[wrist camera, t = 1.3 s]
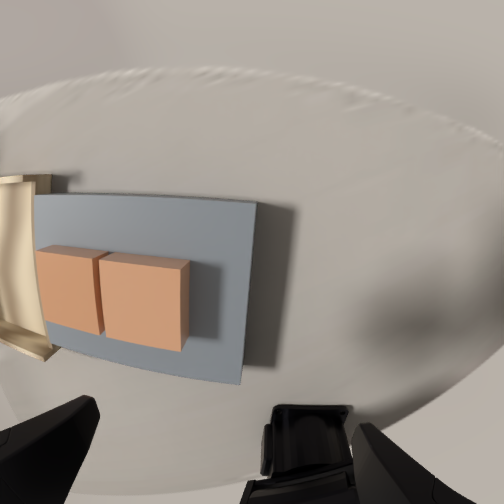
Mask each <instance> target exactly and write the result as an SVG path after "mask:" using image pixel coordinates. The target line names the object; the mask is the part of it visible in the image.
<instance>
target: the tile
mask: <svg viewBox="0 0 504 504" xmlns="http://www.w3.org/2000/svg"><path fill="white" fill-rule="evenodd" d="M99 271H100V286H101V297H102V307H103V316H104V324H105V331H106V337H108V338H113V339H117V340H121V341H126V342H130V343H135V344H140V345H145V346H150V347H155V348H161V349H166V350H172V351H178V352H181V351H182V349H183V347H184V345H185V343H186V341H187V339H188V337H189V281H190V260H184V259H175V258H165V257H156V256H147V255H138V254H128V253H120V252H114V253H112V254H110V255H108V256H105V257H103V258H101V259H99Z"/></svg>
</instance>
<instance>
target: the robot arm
mask: <svg viewBox="0 0 504 504" xmlns="http://www.w3.org/2000/svg"><path fill="white" fill-rule="evenodd" d="M278 410H279V411H278ZM342 411H344V412H342ZM347 415H348V409H347V407H345V406H327V407H320V406H284V405H277V406H274V407H273V409H272V414H271V420H270V424H266V425H265V426H264V432H263V437H262V445H261V469H260V474H261V475H262V476H267V479H263V480H250V481H248V482H247V484H246V487H245V490H244V492H243V495H242V498H241V501H240V504H476V503H474V502H473V501H471V500H469V499H467V498H466V497H464V496H462V495H461V494H459V493H457V492H456V491H454V490H452V489H451V488H450V487H448V486H447V485H446V484H444V483H443V482H442V481H440V480H439V479H438V478H435V476H434V475H433V474H431V473H430V472H429V471H428V470H426V469H425V468H424V467H423V466H421V465H420V464H419V463H418V462H417V461H415V460H414V459H413V458H411V457H410V456H409V455H408V454H407V453H406V452H404V451H403V450H402V449H401V448H400V447H399V446H397V445H396V444H395V443H394V442H393V441H391V440H390V439H389V438H388V437H387V436H386V435H384V434H383V433H382V432H381V431H380V430H379V429H377V428H376V427H375V426H374V425H373V424H372V423H370V422H366V423H359V424H358V425H357V427H356V430H355V432H354V435H353V437H352V442H351V445H352V453H353V454H352V455H353V458H352V456H351V452H350V448H349V444H348V440H347V436H346V433H345V429H344V422H345V420H346V417H347ZM99 420H100V412H99V410H98V407H97V404H96V401H95V399H94V398H93V397H90V396H87V395H82V396H80V397H78V398H76V399H74V400H71V401H69V402H67V403H65V404H63V405H61V406H58V407H56V408H54V409H52V410H50V411H47V412H45V413H43V414H41V415H38V416H36V417H34V418H31V419H29V420H27V421H24V422H22V423H20V424H17V425H15V426H13V427H12V428H8V429H5V430H3V431H0V504H64V502H65V500H66V498H67V496H68V493H69V491H70V489H71V487H72V485H73V482H74V480H75V478H76V476H77V474H78V472H79V469H80V467H81V465H82V463H83V461H84V459H85V457H86V455H87V453H88V450H89V448H90V445H91V442H92V439H93V436H94V434H95V431H96V428H97V425H98V422H99Z"/></svg>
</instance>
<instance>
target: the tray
mask: <svg viewBox="0 0 504 504" xmlns="http://www.w3.org/2000/svg"><path fill="white" fill-rule="evenodd" d="M51 179H52V174H44V175H18V176H8V177H0V342H1V343H3V344H5V345H7V346H9V347H11V348H14V349H16V350H18V351H20V352H22V353H25V354H27V355H29V356H31V357H34V358H36V359H38V360H41V361H43V362H45V361H47V360H48V359H49V358H50V357H51V356H52V355H53V354H54V353H56V352H57V351H58V350H59V349H60V348H61V346H58V345H55V344H52V343H50V339H49V335H48V330H47V326H46V321H45V318H44V313H43V308H42V302H41V296H40V289H39V282H38V274H37V265H36V254H35V251H36V246H35V227H34V195H40V194H49V193H51Z"/></svg>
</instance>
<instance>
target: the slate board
mask: <svg viewBox="0 0 504 504" xmlns="http://www.w3.org/2000/svg"><path fill="white" fill-rule="evenodd" d="M256 212H257V202H255V201H244V200H231V199H218V198H203V197H187V196H169V195H146V194H115V193H49V194H40V195H34V227H35V246H36V250H39V249H42V248H45V247H47V246H50V245H60V246H68V247H76V248H85V249H93V250H102V251H108V255H110V254H112V253H114V252H120V253H128V254H138V255H147V256H156V257H165V258H175V259H184V260H190V281H189V337H188V339H187V341H186V343H185V345H184V347H183V349H182V351H181V352H178V351H172V350H166V349H161V348H155V347H150V346H145V345H140V344H135V343H130V342H126V341H121V340H117V339H113V338H108V337H106V331H104V332H103V333H102V334H101V335H96V334H92V333H88V332H84V331H81V330H77V329H73V328H70V327H66V326H63V325H59V324H56V323H53V322H49V321H46V320H45V321H46V326H47V330H48V335H49V339H50V343H52V344H55V345H58V346H61V347H64V348H67V349H70V350H73V351H76V352H79V353H83V354H86V355H89V356H93V357H96V358H100V359H103V360H107V361H111V362H115V363H119V364H123V365H127V366H131V367H135V368H140V369H144V370H149V371H153V372H158V373H163V374H169V375H174V376H180V377H185V378H191V379H198V380H204V381H211V382H219V383H227V384H235V385H240V383H241V376H242V368H243V359H244V348H245V337H246V325H247V314H248V303H249V291H250V280H251V269H252V257H253V246H254V235H255V223H256Z"/></svg>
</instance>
